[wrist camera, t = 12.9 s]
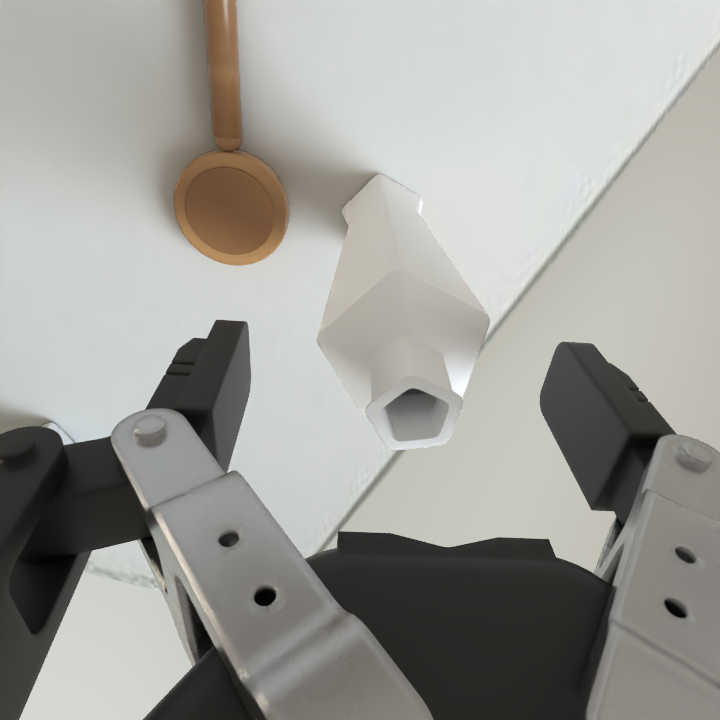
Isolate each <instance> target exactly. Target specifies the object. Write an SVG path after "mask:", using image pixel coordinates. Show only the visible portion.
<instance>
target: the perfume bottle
mask: <svg viewBox="0 0 720 720" xmlns="http://www.w3.org/2000/svg"><path fill="white" fill-rule="evenodd" d="M422 206H423V199H422V198H421V197H420V196H419V195H417V194H415V193H414V192H412V191H410V190H408V189H407V188H405V187H403V186H401V185H400V184H398V183H396V182H394V181H393V180H391V179H389V178H387V177H386V176H384V175H381V174H378V175H376V176H374V177H373V178H372V179H371V180H370V181H369V182H368V183H367V184H366V185H365V186H364V187H363V188H362V189H361V190H360V191H359V192H358V193H357V194H356V195H355V196H354V197H353V198H352V199H351V200H350V201H349V202H348V203H347V204H346V205H345V206H344V207H343V209H342V214H343V216H344V218H345V221H346V223H347V225H348V230H347V233H346V237H345V240H344V244H343V248H342V251H341V255H340V258H339V262H338V265H337V269H336V272H335V276H334V280H333V283H332V287H331V290H330V294H329V297H328V301H327V304H326V308H325V312H324V315H323V319H322V322H321V326H320V329H319V333H318V337H317V342H318V345H319V347H320V348H321V350H322V352H323V353H324V355H325V357H326V358H327V360H328V361H329V363H330V365H331V366H332V368H333V370H334V371H335V373H336V375H337V376H338V378H339V379H340V381H341V383H342V384H343V386H344V388H345V389H346V391H347V392H348V394H349V396H350V397H351V399H352V401H353V402H354V404H355V406H356V407H357V409H358V410H359V411H360V412H362V413H365V414H366V415H367V417H368V419H369V421H370V422H371V424H372V426H373V427H374V429H375V431H376V432H377V434H378V436H379V437H380V439H381V440H382V442H383V444H384V445H385V446H386V447H387V448H389V449H391V450H404V449H414V448H423V447H433V446H440V445H443V444H445V443H446V442H448V440H449V439H450V437H451V434H452V432H453V429H454V427H455V424H456V421H457V419H458V416H459V413H460V411H461V408H462V404H463V400H462V397H463V395H464V392H465V389H466V387H467V384H468V381H469V378H470V376H471V373H472V370H473V367H474V365H475V362H476V360H477V357H478V354H479V352H480V349H481V346H482V344H483V341H484V338H485V335H486V333H487V330H488V327H489V324H490V318H489V316H488V314H487V313H486V311H485V310H484V308H483V307H482V305H481V304H480V303H479V301H478V300H477V298H476V297H475V295H474V294H473V292H472V291H471V289H470V288H469V286H468V285H467V283H466V282H465V280H464V279H463V277H462V276H461V274H460V273H459V271H458V270H457V269H456V267H455V266H454V264H453V263H452V261H451V260H450V258H449V257H448V255H447V254H446V252H445V251H444V249H443V248H442V246H441V245H440V243H439V242H438V240H437V239H436V237H435V236H434V235H433V233H432V232H431V230H430V229H429V227H428V226H427V224H426V223H425V221H424V220H423V218H422V217H421V215H420V214H421V210H422Z"/></svg>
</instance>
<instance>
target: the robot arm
mask: <svg viewBox="0 0 720 720" xmlns="http://www.w3.org/2000/svg"><path fill="white" fill-rule="evenodd" d="M250 383H251V368H250V349H249V330H248V324H247V322H244V321H228V320H216V321H215V323H214V325H213V327H212V329H211V331H210V333H209V335H208V338H207V339H203V338H193V339H192V340H190V341H189V342H188V343H186V344H185V345H183V346H182V347H181V348H179V350H178V351H177V353H176V355H175V357H174V359H173V360H172V364H170V366H169V368H168V369H167V371H166V375H164V377H163V378H162V380H161V382H160V384H159V386H158V387H157V389H156V391H155V393H154V395H153V396H152V398H151V400H150V402H149V404H148V406H147V407H146V409H145V410H143V411H139V412H136V413H134V414H132V415H130V416H128V417H126V418H124V419H123V420H122V421H120V422H119V423H118V424H117V425H116V427H115V428H114V429H113V431H112V434H111V436H109V437H106V438H102V439H97V440H91V441H85V442H79V443H73V444H67V445H64V444H63V441H62V438H61V436H60V435H59V434H58V432H56V431H55V430H53V429H50V428H46V427H38V426H33V427H23V428H18V429H14V430H11V431H8V432H5V433H3V434H0V720H19V718H20V716H21V714H22V711H23V709H24V707H25V704H26V702H27V700H28V698H29V695H30V693H31V690H32V688H33V686H34V684H35V681H36V679H37V677H38V674H39V672H40V670H41V668H42V665H43V663H44V660H45V658H46V656H47V654H48V651H49V649H50V646H51V644H52V642H53V640H54V637H55V635H56V633H57V630H58V628H59V626H60V623H61V621H62V619H63V617H64V614H65V612H66V610H67V607H68V605H69V603H70V600H71V598H72V596H73V593H74V591H75V589H76V587H77V584H78V582H79V580H80V577H81V575H82V573H83V570H84V568H85V566H86V564H87V561H88V559H89V557H90V554H91V552H92V550H96V549H100V548H104V547H109V546H113V545H117V544H121V543H125V542H130V541H134V540H138V542H139V544H140V547H141V549H142V551H143V553H144V555H145V557H146V559H147V562H148V564H149V566H150V568H151V570H152V572H153V574H154V576H155V579H156V581H157V583H158V585H159V587H160V589H161V591H162V594H163V596H164V598H165V600H166V602H167V604H168V607H169V609H170V611H171V614H172V617H173V619H174V622H175V625H176V628H177V631H178V633H179V636H180V639H181V641H182V644H183V646H184V649H185V651H186V653H187V655H188V658H189V660H190V662H191V664H192V666H193V667H192V668H191V669H190V671H189V672H188V673H187V674H186V675H185V676H184V677H183V678H182V679H181V680H180V681H179V682H178V683H177V684H176V685H175V686H174V687H173V688H172V689H171V691H170V692H169V693H168V694H167V695H166V696H165V697H164V698H163V699H162V700H161V701H160V702H159V703H158V704H157V705H156V707H154V709H152V711H151V712H150V713H149V714H148V715H147V716H146V717H145V718H144V719H143V720H720V452H718V451H717V450H715V449H714V448H712V447H711V446H709V445H707V444H706V443H704V442H701V441H699V440H697V439H694V438H691V437H688V436H683V435H677V434H676V433H675V432H674V430H673V429H672V428H671V427H670V426H669V424H668V423H667V422H666V421H665V420H664V418H663V417H662V416H661V415H660V413H659V412H658V411H657V410H656V409H655V408H654V406H653V405H652V404H651V403H650V402H648V399H647V398H646V397H645V395H644V394H643V393H642V392H641V391H639V388H638V387H637V386H636V384H635V383H634V382H633V381H632V380H631V378H630V377H629V376H628V375H627V374H625V373H624V372H622V371H621V370H620V369H618V368H617V367H615V366H614V365H612V364H611V363H608V362H607V361H606V359H605V358H604V357H603V356H602V354H601V353H600V352H599V351H598V350H597V348H596V347H595V346H594V345H593V344H590V343H574V342H561V343H560V344H559V345H558V346H557V348H556V350H555V353H554V355H553V358H552V361H551V364H550V367H549V370H548V372H547V375H546V378H545V381H544V384H543V386H542V390H541V394H540V407H541V411H542V414H543V416H544V418H545V420H546V422H547V424H548V426H549V428H550V430H551V432H552V434H553V436H554V438H555V439H556V441H557V443H558V445H559V447H560V449H561V451H562V453H563V455H564V457H565V459H566V461H567V463H568V465H569V467H570V469H571V471H572V473H573V474H574V477H575V478H576V481H577V482H578V484H579V486H580V488H581V490H582V492H583V494H584V496H585V498H586V500H587V502H588V504H589V506H590V508H591V510H599V511H614V512H615V514H616V518H615V520H614V522H613V524H612V525H611V527H610V530H609V533H608V536H607V538H606V541H605V544H604V547H603V549H602V552H601V555H600V558H599V560H598V563H597V566H596V569H595V572H594V574H593V573H592V572H590V571H588V570H586V569H584V568H582V567H580V566H578V565H576V564H574V563H571V562H568V561H566V560H563V559H560V558H556V556H555V554H554V552H553V549H552V546H551V544H550V541H549V539H524V538H493V539H489V540H483V541H479V542H474V543H469V544H464V545H460V546H455V547H441V546H437V545H433V544H429V543H426V542H422V541H418V540H414V539H411V538H407V537H403V536H399V535H395V534H390V533H366V532H340V531H338V540H337V548H335V549H331V550H326V551H323V552H320V553H317V554H315V555H312V556H310V557H308V558H306V559H304V558H303V556H302V555H301V554H300V552H299V551H298V550H297V548H296V547H295V546H294V544H293V543H292V542H291V540H290V539H289V538H288V536H287V535H286V534H285V532H284V531H283V530H282V528H281V527H280V526H279V524H278V523H277V522H276V520H275V519H274V517H273V516H272V515H271V513H270V512H269V511H268V509H267V508H266V507H265V505H264V504H263V503H262V501H261V500H260V499H259V497H258V496H257V495H256V493H255V492H254V491H253V489H252V488H251V487H250V485H249V484H248V483H247V481H246V480H245V479H244V477H243V476H242V475H241V474H240V473H239V472H237V471H231V472H229V473H227V471H228V467H229V464H230V460H231V457H232V453H233V450H234V446H235V443H236V439H237V436H238V432H239V429H240V425H241V422H242V418H243V415H244V411H245V408H246V404H247V401H248V397H249V392H250Z"/></svg>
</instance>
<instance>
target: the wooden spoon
mask: <svg viewBox="0 0 720 720" xmlns="http://www.w3.org/2000/svg"><path fill="white" fill-rule="evenodd" d="M203 6H204V19H205V32H206V46H207V59H208V73H209V86H210V100H211V113H212V127H213V137H214V141H215V143H216V145H217V146H218V147H219V148H220V149H219V150H214V151H210V152H208V153H205V154H203V155H201V156H200V157H198V158H197V159H195V160H194V161H193V162H191V163H190V164H189V165H188V166H187V167H186V168H185V169H184V171H183V172H182V173H181V175H180V177H179V179H178V181H177V184H176V187H175V191H174V210H175V215H176V219H177V222H178V224H179V226H180V228H181V230H182V232H183V234H184V235H185V237H186V238H187V239H188V241H189V242H190V243H191V244H192V245H193V246H194V247H195V248H196V249H197V250H198V251H200V252H201V253H202V254H204V255H205V256H207V257H209V258H211V259H213V260H215V261H218V262H220V263H224V264H229V265H248V264H252V263H256V262H258V261H261V260H263V259H264V258H266V257H268V256H269V255H270V254H272V253H273V252H274V251H275V250H276V248H277V247H278V246H279V244H280V243H281V241H282V239H283V237H284V235H285V232H286V229H287V226H288V222H289V202H288V197H287V194H286V191H285V189H284V187H283V184H282V183H281V181H280V179H279V178H278V176H277V175H276V174H275V173H274V171H273V170H272V169H271V168H270V167H269V166H268V165H267V164H265V163H264V162H263V161H262V160H260V159H258V158H257V157H255V156H253V155H251V154H249V153H246V152H243V151H239V150H236V149H237V148H238V147H239V146H240V144H241V142H242V126H241V103H240V81H239V59H238V37H237V14H236V0H203Z"/></svg>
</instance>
